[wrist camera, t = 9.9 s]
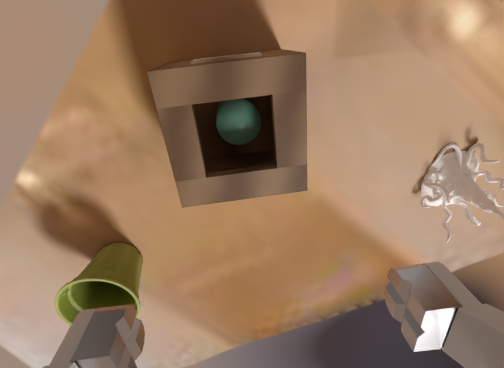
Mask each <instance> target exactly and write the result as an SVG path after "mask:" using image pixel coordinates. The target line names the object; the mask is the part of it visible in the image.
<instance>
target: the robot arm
mask: <svg viewBox="0 0 504 368" xmlns="http://www.w3.org/2000/svg"><path fill="white" fill-rule="evenodd" d="M387 278H388V279H389V281H390V283H389V284H388V285H387V286H386V287H385V293H384V295H385V301H386V304H387V307H388V309H389V311H390V313H391V315H392V316H393V317H394V318H395V319H396V320H398V321H399V322H401V323H402V326H401V332H402V333H403V335H404V336H405V338H406V340H407V342H408V343H409V345H410V346H411V348H412V349H413V351H414V352H417V351H425V350H433V349H443V351H444V352H445V353H447V354H448V355H449V356H450V357H452V358H453V359H454V360H455V361H457V362H458V363H459V364H461V365H462V366H463V367H465V368H504V312H502V311H500V310H498V309H496V308H494V307H492V306H490V305H488V304H481V303H480V302H479V301H478V300H477V299H476V298H475V297H474V296H473V295H472V294H471V293H470V292H469V291H468V290H467V289H466V287H464V286H463V284H462V283H461V282H460V281H459V280H458V279H457V278H456V277H455V276H454V275H453V274H452V273H451V272H450V271H449V270H448V269H447V268H446V267H445V266H444V265H443V264H442V263H440V262H432V263H424V264H416V265H409V266H402V267H396V268H391V269H390V270H389V271H388V275H387ZM136 313H137V310H136V308H135V307H134V305H121V306H112V307H103V308H95V309H87V310H82V311H81V312H79V313H78V314H77V316H76V317H75V319H74V321H73V323H72V325H71V327H70V328H69V330H68V332H67V334H66V336H65V338H64V339H63V341H62V343H61V345H60V347H59V349H58V351H57V352H56V354H55V356H54V358H53V360H52V362H51V363H50V365H49V366H44V367H43V368H137V366H136V364H135V360H136V359H137V358H138V356H139V355H140V354H141V353H142V349H143V345H144V336H145V332H144V326H143V324H142V321H141V320H139V319H137V318H136V317H135V316H136Z"/></svg>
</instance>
